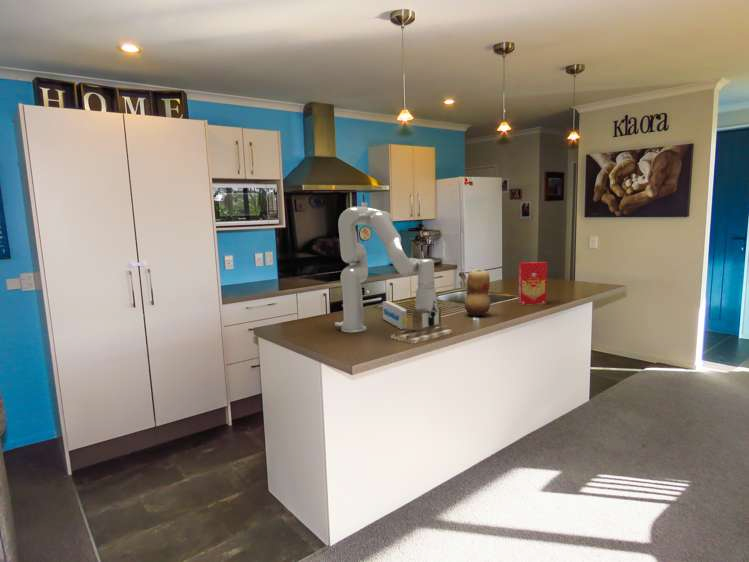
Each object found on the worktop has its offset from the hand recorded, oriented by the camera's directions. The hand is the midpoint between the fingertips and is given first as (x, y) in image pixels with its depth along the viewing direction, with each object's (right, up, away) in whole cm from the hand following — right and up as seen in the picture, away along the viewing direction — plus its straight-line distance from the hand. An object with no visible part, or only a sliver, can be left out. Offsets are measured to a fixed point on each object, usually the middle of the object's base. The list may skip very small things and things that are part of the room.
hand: (426, 324), depth 222 cm
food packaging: (+70, +6, +63) cm, 94 cm away
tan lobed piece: (+32, +1, +37) cm, 49 cm away
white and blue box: (-14, -3, +21) cm, 26 cm away
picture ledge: (-2, -5, -1) cm, 6 cm away
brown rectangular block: (0, -2, 0) cm, 2 cm away
